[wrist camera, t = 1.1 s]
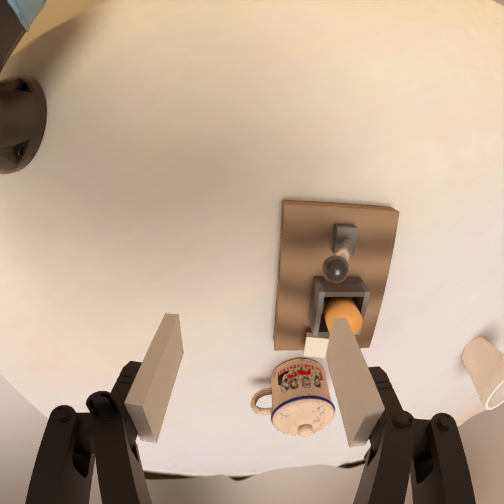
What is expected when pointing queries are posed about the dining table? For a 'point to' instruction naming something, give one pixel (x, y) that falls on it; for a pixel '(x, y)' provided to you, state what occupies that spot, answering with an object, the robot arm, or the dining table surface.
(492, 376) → the foam cup
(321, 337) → the rocker switch
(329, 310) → the push button
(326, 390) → the teacup with lid
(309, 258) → the switch panel
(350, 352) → the robot arm
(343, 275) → the toggle lever
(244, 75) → the dining table surface
